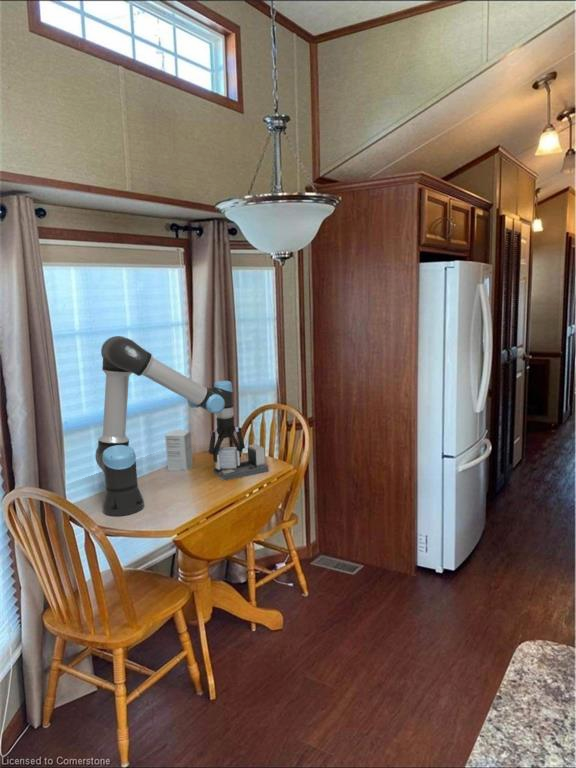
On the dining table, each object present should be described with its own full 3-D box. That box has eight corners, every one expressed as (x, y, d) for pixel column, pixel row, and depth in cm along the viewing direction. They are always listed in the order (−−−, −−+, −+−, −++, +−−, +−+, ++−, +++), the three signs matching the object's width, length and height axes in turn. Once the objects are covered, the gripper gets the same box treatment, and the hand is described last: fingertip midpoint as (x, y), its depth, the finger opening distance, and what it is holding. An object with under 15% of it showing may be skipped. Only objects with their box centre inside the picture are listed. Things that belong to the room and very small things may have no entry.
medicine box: (237, 465, 250) (236, 446, 249) (235, 468, 246) (234, 449, 245) (220, 465, 251) (219, 446, 250) (218, 468, 247) (217, 449, 245)
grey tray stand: (224, 480, 242) (222, 457, 240) (213, 473, 252) (212, 450, 251) (268, 471, 252) (267, 448, 250) (256, 464, 262) (255, 442, 260)
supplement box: (174, 464, 267) (171, 429, 264) (193, 464, 266) (190, 429, 263) (167, 471, 258) (164, 435, 255) (187, 471, 257) (184, 435, 254)
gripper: (244, 411, 253) (246, 460, 257) (198, 418, 243) (201, 468, 247) (251, 414, 247) (253, 464, 251) (204, 421, 236) (207, 473, 240)
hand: (227, 466), depth 249 cm, fingers closed on medicine box, 9 cm apart
